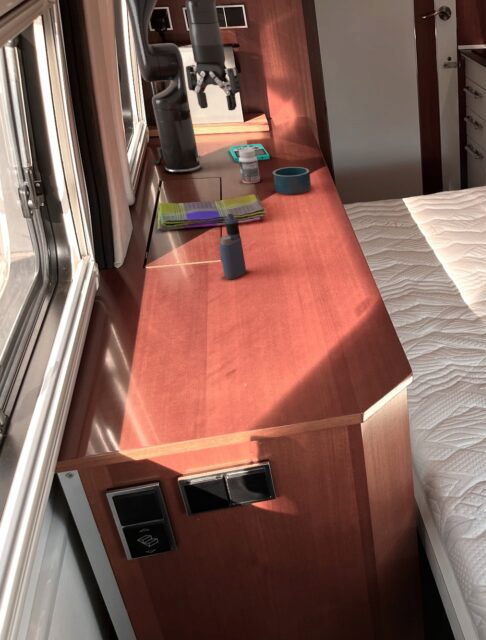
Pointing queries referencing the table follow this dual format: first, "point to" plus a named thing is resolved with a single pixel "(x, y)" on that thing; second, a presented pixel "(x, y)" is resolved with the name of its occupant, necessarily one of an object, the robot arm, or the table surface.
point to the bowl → (292, 180)
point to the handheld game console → (259, 149)
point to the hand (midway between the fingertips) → (218, 108)
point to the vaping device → (232, 250)
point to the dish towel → (209, 212)
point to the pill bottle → (249, 166)
